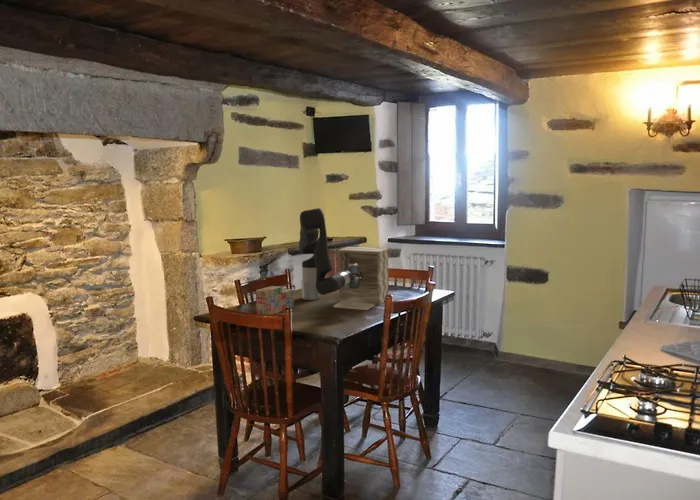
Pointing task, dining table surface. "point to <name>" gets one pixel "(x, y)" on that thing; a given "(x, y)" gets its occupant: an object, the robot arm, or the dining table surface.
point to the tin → (354, 269)
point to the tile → (354, 305)
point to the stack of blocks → (273, 299)
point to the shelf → (366, 274)
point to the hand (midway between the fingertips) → (355, 273)
